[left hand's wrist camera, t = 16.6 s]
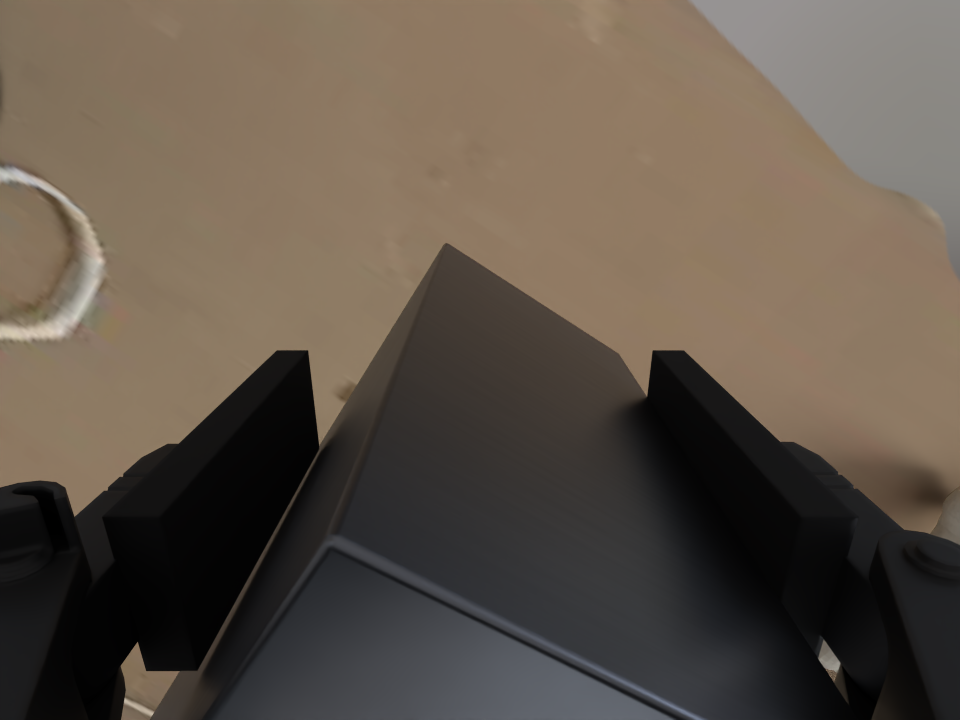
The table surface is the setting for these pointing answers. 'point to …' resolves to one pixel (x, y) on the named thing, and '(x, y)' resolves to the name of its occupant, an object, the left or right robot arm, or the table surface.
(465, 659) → the box
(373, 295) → the table surface
